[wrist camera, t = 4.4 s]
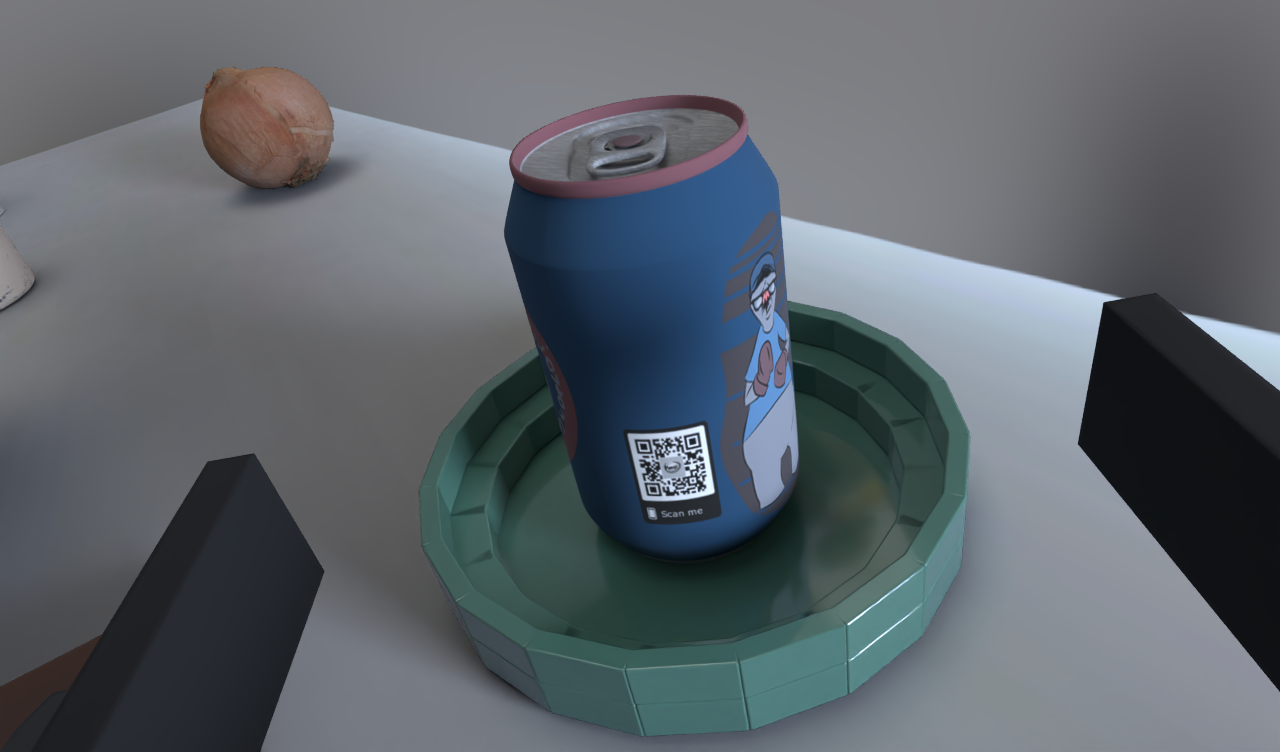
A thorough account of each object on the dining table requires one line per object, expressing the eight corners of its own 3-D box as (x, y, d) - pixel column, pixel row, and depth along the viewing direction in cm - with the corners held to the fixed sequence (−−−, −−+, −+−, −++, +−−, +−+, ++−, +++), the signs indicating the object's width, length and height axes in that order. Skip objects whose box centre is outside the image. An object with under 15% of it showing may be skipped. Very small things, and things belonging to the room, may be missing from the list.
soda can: (598, 438, 29) (512, 111, 22) (790, 419, 28) (761, 70, 21) (576, 590, 23) (451, 213, 16) (815, 573, 22) (788, 164, 15)
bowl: (384, 497, 29) (353, 434, 27) (731, 317, 35) (724, 256, 33) (616, 891, 17) (587, 822, 15) (1085, 512, 23) (1102, 432, 21)
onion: (265, 223, 65) (169, 119, 61) (355, 154, 67) (267, 51, 64) (267, 211, 56) (156, 90, 53) (370, 133, 59) (270, 13, 55)
